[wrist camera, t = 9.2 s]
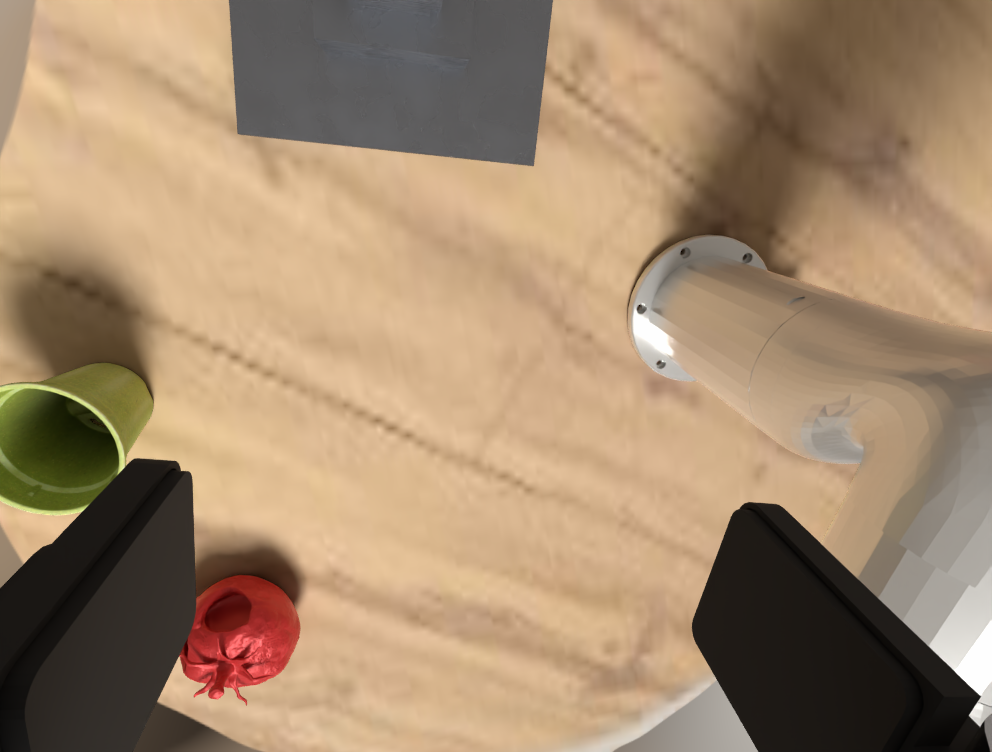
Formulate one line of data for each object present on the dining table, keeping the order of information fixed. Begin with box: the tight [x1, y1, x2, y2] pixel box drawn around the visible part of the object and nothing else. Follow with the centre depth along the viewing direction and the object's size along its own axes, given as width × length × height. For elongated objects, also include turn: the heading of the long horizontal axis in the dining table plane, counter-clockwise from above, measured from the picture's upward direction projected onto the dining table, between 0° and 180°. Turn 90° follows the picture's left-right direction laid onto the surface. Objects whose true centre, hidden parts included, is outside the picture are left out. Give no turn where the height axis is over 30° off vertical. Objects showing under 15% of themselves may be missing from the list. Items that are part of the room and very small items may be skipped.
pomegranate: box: [179, 575, 300, 706], centre depth 47 cm, size 10×10×9 cm
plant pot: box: [0, 363, 153, 515], centre depth 39 cm, size 9×9×9 cm
